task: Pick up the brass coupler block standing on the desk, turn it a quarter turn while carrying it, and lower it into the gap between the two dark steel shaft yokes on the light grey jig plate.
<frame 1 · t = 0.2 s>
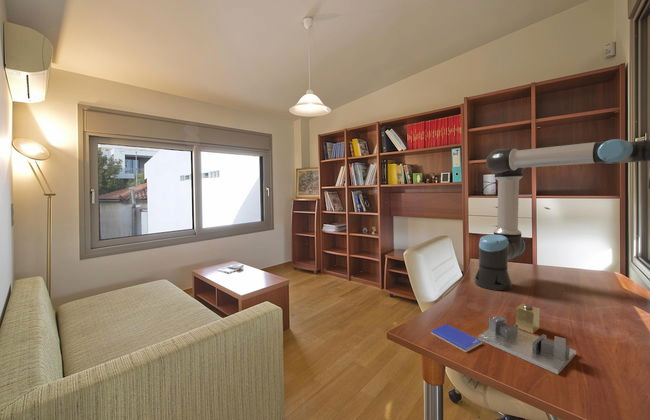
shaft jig: (524, 346, 82), on the table
hard drive: (455, 340, 88), on the table
coupler: (527, 327, 93), on the table
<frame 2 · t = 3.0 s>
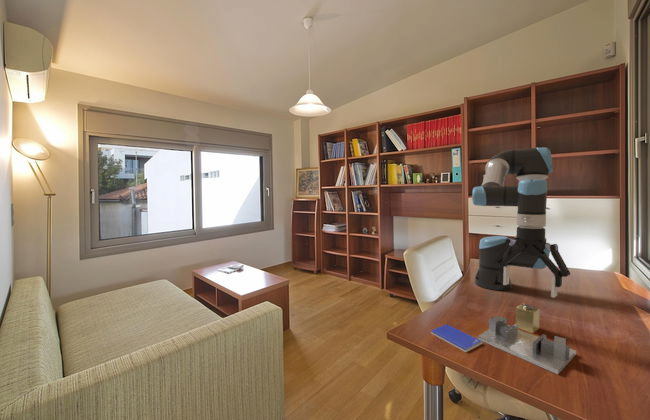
hand: (528, 290, 91), 13 cm above the table, fingers open, 13 cm apart
nothing on the table moved.
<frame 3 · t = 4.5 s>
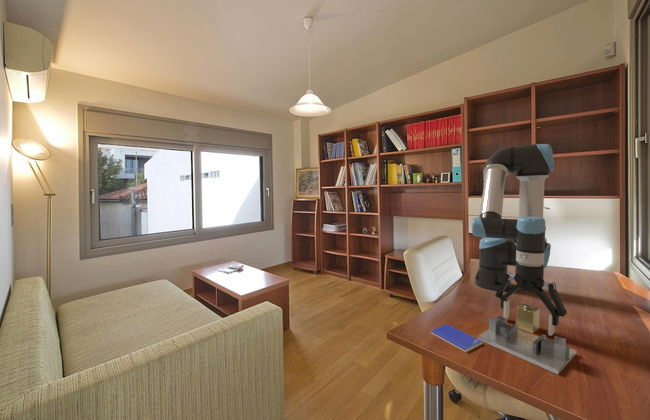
hand: (527, 325, 93), 1 cm above the table, fingers open, 12 cm apart
nothing on the table moved.
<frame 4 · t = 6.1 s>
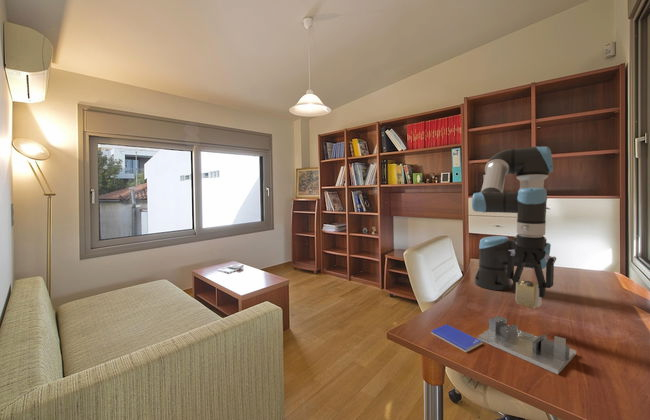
hand: (528, 302, 92), 9 cm above the table, fingers closed on coupler, 5 cm apart
coupler: (527, 304, 92), point 8 cm above the table, touching gripper
everything else where it was.
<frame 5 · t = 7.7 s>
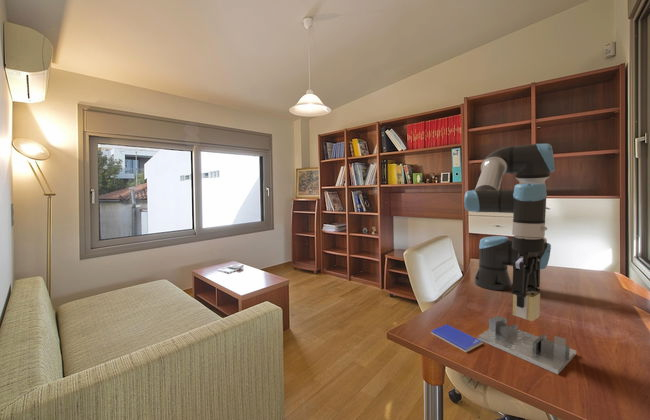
hand: (525, 314, 81), 10 cm above the table, fingers closed on coupler, 5 cm apart
coupler: (525, 315, 81), point 10 cm above the table, touching gripper
everything else where it was.
when the fingers open (2 cm above the table, at t = 9.4 s): coupler stays where it is, resting on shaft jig.
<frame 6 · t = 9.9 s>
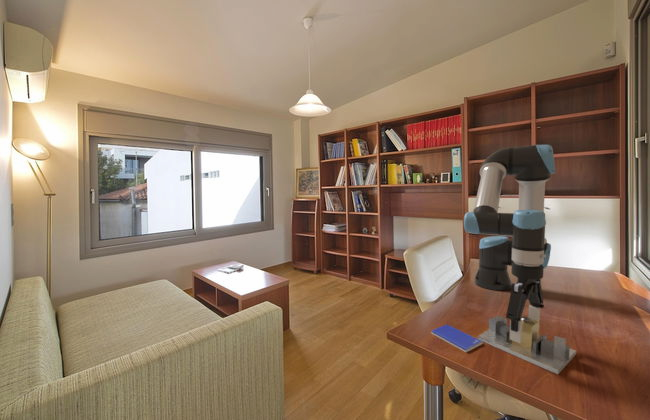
hand: (524, 333, 82), 4 cm above the table, fingers open, 12 cm apart
coupler: (524, 342, 82), point 1 cm above the table, touching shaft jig
everything else where it was.
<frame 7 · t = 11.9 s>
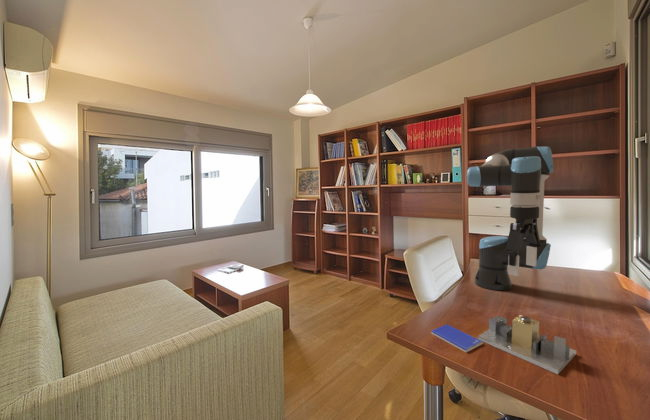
hand: (522, 270, 90), 20 cm above the table, fingers open, 13 cm apart
nothing on the table moved.
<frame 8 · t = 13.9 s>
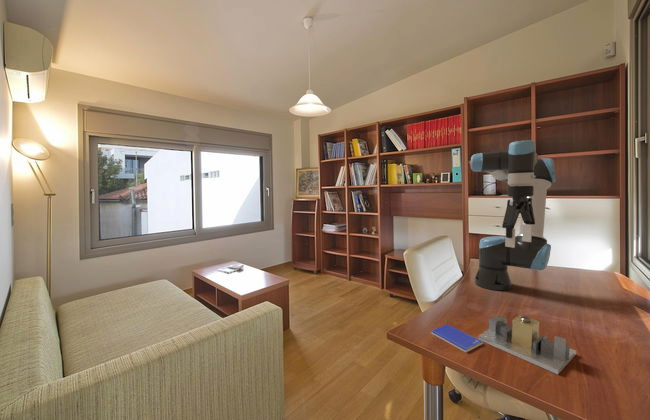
hand: (518, 244, 99), 27 cm above the table, fingers open, 13 cm apart
nothing on the table moved.
at the end: coupler 0.1 cm off-centre on the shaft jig, point 1.2 cm above the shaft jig's base; coupler tilted 0°; the gripper is holding nothing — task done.
